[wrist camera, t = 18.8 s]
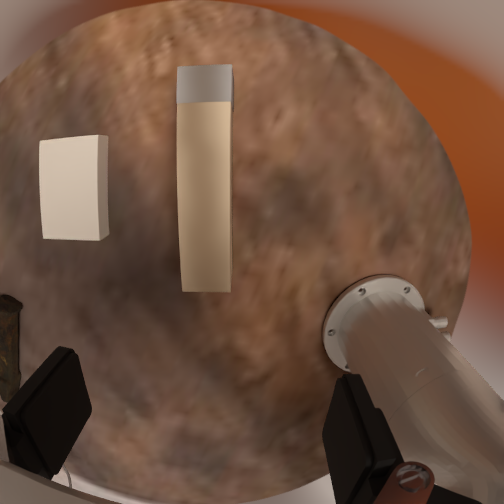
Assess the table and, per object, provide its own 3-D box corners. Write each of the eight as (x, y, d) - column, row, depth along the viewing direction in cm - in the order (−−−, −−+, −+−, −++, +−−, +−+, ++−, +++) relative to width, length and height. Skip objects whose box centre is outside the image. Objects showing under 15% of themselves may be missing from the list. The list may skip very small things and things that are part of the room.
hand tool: (4, 288, 32) (-16, 303, 28) (26, 302, 33) (6, 318, 29) (5, 382, 37) (-9, 398, 33) (23, 394, 38) (11, 411, 33)
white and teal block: (110, 233, 31) (109, 136, 28) (99, 240, 28) (98, 134, 26) (56, 232, 31) (53, 141, 28) (43, 238, 28) (39, 141, 25)
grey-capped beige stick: (234, 81, 27) (231, 64, 21) (233, 267, 32) (231, 292, 26) (190, 83, 27) (177, 66, 21) (192, 266, 32) (181, 291, 26)
